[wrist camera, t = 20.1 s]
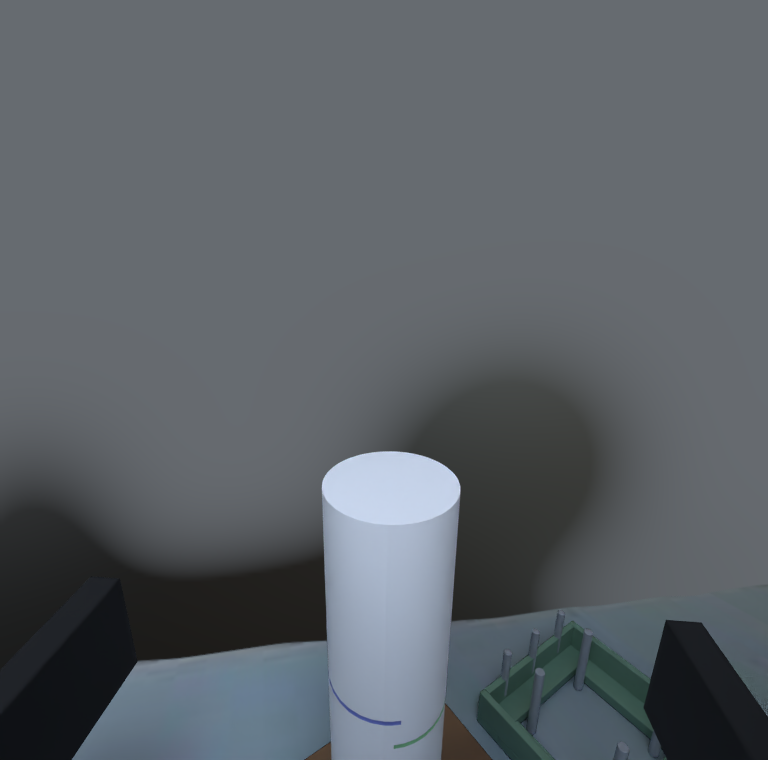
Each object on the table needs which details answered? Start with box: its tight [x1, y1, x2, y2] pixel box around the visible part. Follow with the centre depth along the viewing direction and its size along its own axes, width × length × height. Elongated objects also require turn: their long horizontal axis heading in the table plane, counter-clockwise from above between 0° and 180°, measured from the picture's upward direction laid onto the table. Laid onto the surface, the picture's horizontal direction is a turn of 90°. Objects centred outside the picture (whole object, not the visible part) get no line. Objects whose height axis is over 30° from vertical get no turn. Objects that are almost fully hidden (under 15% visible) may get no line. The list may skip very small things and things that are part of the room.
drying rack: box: [477, 610, 667, 760], centre depth 39 cm, size 14×14×7 cm
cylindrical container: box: [322, 451, 460, 760], centre depth 27 cm, size 7×7×25 cm
